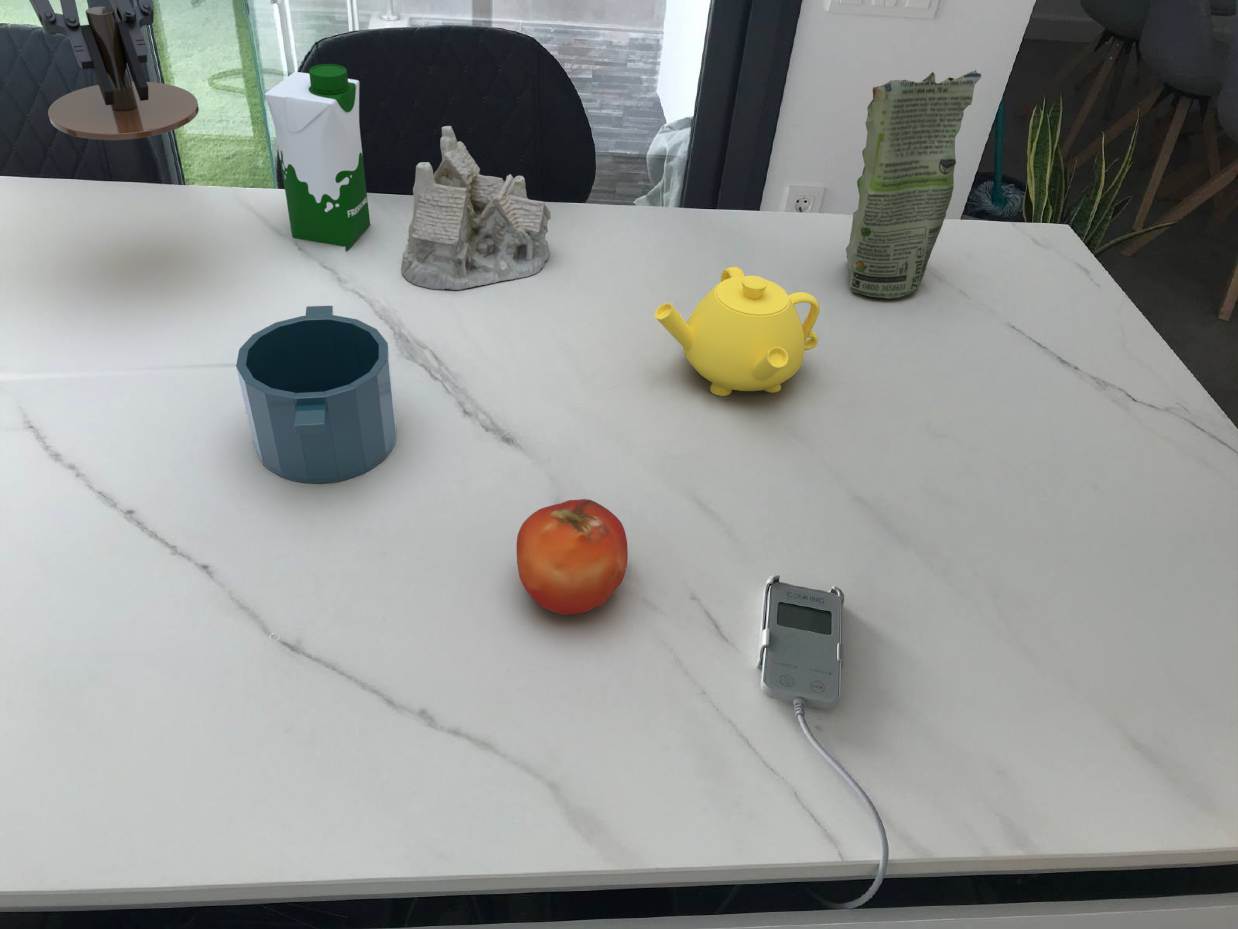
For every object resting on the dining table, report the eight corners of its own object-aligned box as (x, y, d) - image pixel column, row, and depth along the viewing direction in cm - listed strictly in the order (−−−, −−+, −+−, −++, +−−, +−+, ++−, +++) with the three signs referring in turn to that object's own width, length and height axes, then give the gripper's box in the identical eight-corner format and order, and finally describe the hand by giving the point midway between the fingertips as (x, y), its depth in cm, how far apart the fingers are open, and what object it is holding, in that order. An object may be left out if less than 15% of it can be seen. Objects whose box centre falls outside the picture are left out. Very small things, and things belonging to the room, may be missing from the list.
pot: (246, 509, 83) (225, 422, 77) (265, 384, 97) (247, 301, 90) (397, 498, 86) (388, 413, 79) (395, 378, 99) (387, 296, 93)
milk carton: (352, 255, 117) (331, 86, 103) (280, 243, 118) (251, 74, 104) (380, 222, 123) (364, 60, 110) (312, 211, 124) (288, 49, 111)
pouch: (822, 288, 118) (872, 80, 102) (844, 246, 127) (893, 47, 111) (914, 312, 116) (979, 102, 99) (929, 268, 124) (993, 67, 108)
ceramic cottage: (381, 273, 113) (379, 149, 104) (452, 221, 126) (456, 105, 116) (501, 316, 110) (510, 191, 101) (562, 258, 122) (575, 142, 113)
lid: (36, 147, 91) (-1, 33, 85) (68, 92, 101) (37, -13, 95) (191, 145, 94) (166, 35, 87) (207, 92, 104) (186, -11, 97)
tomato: (544, 647, 74) (546, 576, 69) (496, 567, 80) (495, 495, 75) (649, 607, 78) (659, 537, 73) (596, 533, 84) (601, 463, 79)
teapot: (643, 379, 102) (654, 286, 94) (707, 323, 111) (721, 234, 103) (767, 434, 96) (788, 339, 89) (823, 370, 105) (846, 280, 98)
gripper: (131, -120, 99) (209, 102, 100) (-44, -113, 92) (41, 125, 93) (129, -172, 92) (212, 66, 93) (-60, -169, 85) (32, 88, 86)
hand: (126, 95), depth 93 cm, fingers closed on lid, 2 cm apart
